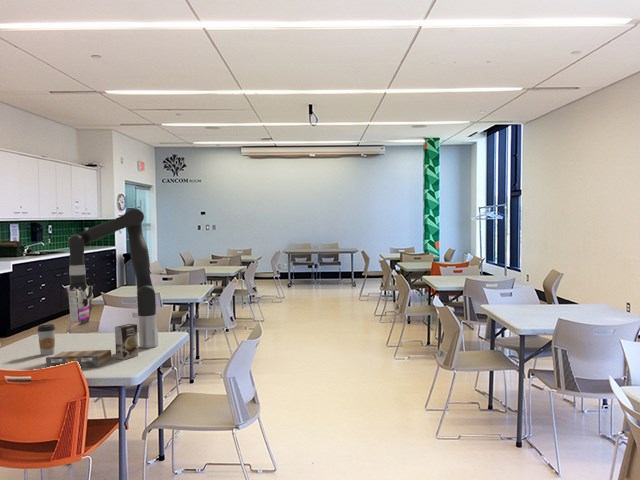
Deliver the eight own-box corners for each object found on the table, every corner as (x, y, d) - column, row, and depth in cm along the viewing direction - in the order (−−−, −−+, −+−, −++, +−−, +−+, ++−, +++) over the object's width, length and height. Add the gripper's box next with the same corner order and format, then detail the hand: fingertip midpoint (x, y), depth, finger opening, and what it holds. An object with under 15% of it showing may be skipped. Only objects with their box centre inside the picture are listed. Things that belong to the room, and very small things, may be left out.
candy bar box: (81, 318, 280) (79, 287, 279) (90, 318, 280) (88, 286, 279) (69, 322, 269) (67, 290, 268) (78, 322, 268) (77, 289, 268)
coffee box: (124, 360, 263) (122, 327, 263) (115, 358, 267) (114, 326, 266) (139, 355, 271) (137, 324, 270) (130, 354, 275) (129, 323, 274)
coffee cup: (38, 356, 275) (37, 328, 275) (38, 353, 283) (37, 325, 282) (56, 354, 279) (55, 326, 279) (56, 351, 287) (54, 323, 286)
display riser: (111, 357, 269) (110, 346, 269) (97, 367, 251) (97, 355, 251) (63, 359, 268) (62, 348, 268) (46, 369, 251) (45, 357, 251)
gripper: (94, 272, 278) (96, 304, 279) (65, 273, 276) (67, 306, 277) (90, 273, 270) (91, 307, 271) (60, 275, 269) (62, 308, 269)
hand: (79, 306), depth 274 cm, fingers closed on candy bar box, 5 cm apart
